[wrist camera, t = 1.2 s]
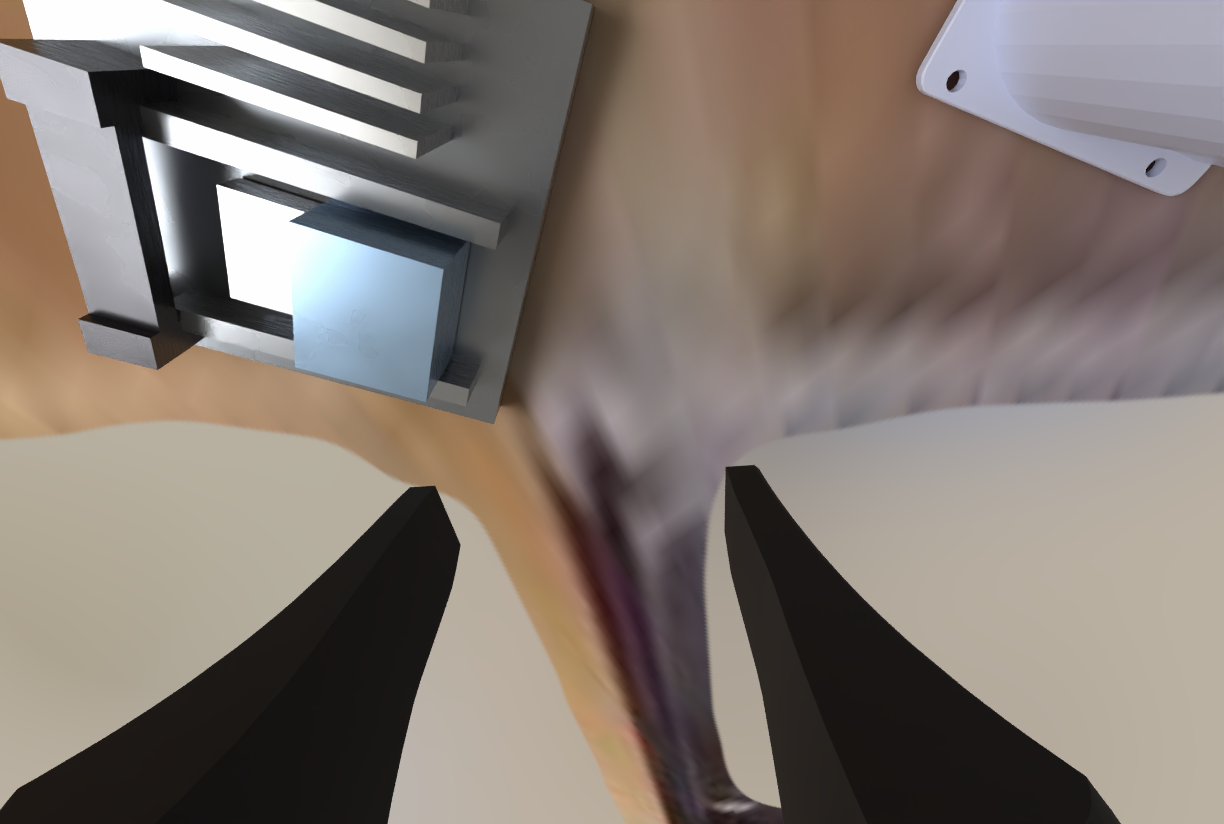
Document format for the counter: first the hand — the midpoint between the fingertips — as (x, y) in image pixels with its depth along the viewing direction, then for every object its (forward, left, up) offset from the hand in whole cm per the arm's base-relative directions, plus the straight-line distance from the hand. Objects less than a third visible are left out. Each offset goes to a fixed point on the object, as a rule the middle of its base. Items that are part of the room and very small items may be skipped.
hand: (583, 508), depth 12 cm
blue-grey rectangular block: (+9, 0, -8) cm, 12 cm away
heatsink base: (+10, -2, -9) cm, 14 cm away
